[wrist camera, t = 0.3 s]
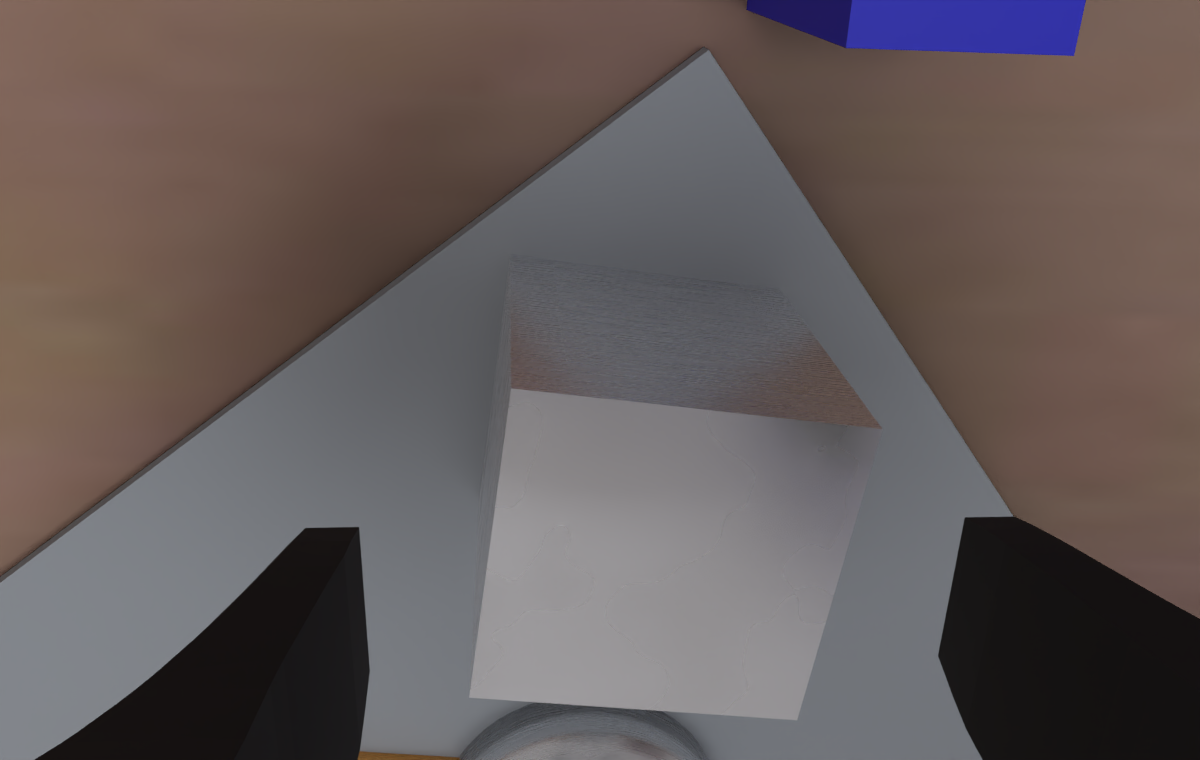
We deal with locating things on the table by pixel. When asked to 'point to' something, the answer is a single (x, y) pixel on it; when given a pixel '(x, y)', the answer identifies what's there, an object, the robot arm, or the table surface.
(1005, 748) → the robot arm
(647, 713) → the scoop
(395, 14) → the table surface
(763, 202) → the mat
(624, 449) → the brushed metal cube
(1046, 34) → the cable clip
